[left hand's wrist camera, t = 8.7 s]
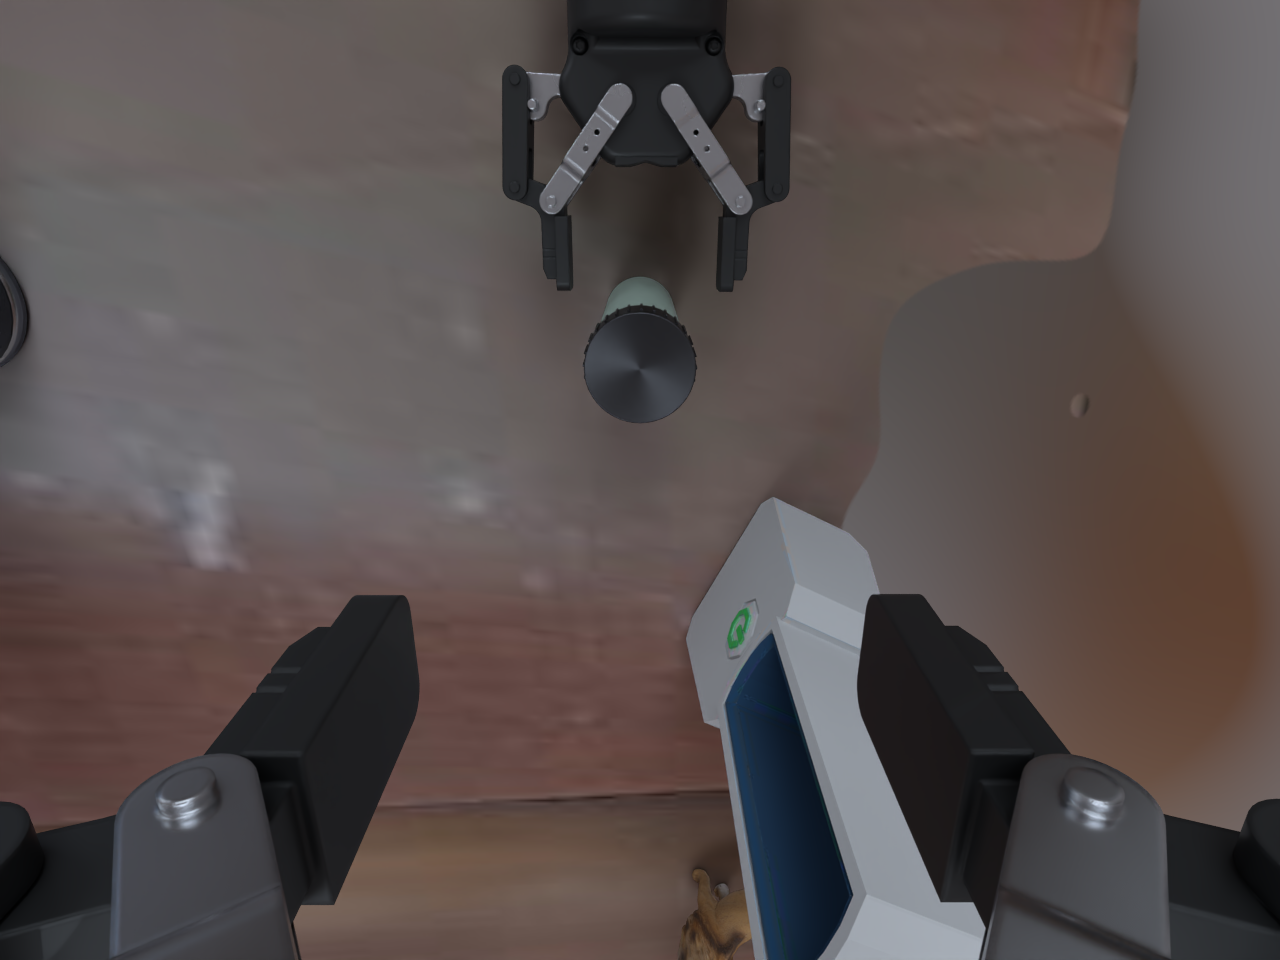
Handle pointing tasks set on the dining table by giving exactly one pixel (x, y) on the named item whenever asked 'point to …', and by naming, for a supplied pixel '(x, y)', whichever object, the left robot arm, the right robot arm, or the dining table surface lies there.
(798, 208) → the dining table surface
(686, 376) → the lid
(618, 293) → the pale green tube
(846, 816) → the electronic device
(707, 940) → the lion figurine
